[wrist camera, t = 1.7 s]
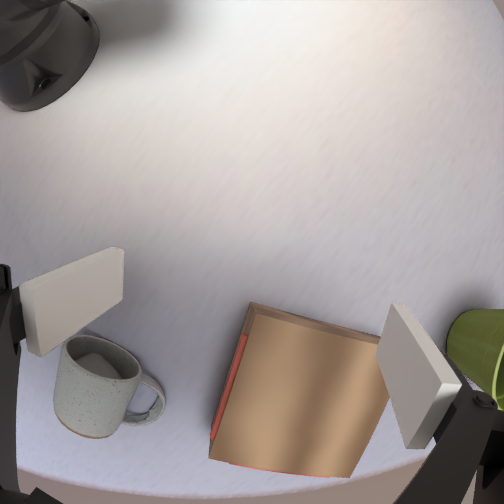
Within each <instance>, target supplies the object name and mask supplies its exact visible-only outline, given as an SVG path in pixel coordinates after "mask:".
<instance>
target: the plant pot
mask: <svg viewBox="0 0 504 504" xmlns="http://www.w3.org/2000/svg"><path fill="white" fill-rule="evenodd" d="M447 356H448V358H449V359H451V360H452V361H453V362H454V363H455V365H456V366H457V367H458V369H459V370H460V371H461V372H462V373H463V374H465V375H466V376H467V377H468V378H469V379H470V380H472V381H473V382H474V383H475V384H476V385H477V386H478V387H480V388H481V389H482V390H483V391H484V392H485V393H486V394H488V395H490V396H491V397H492V398H493V399H494V400H495V401H496V402H497V404H498V410H503V411H504V309H495V310H470V311H467V312H465V313H463V314H461V315H460V316H459V317H458V318H457V319H456V321H455V322H454V323H453V325H452V327H451V329H450V331H449V334H448V338H447Z"/></svg>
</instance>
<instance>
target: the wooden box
mask: <svg viewBox="0 0 504 504" xmlns="http://www.w3.org/2000/svg"><path fill="white" fill-rule="evenodd" d="M380 338H381V337H380V336H376V335H372V334H368V333H364V332H360V331H356V330H352V329H348V328H344V327H340V326H336V325H332V324H328V323H325V322H321V321H317V320H313V319H310V318H306V317H302V316H299V315H295V314H291V313H288V312H284V311H281V310H277V309H274V308H270V307H267V306H263V305H260V304H256V303H253V302H251V303H250V306H249V309H248V312H247V316H246V319H245V322H244V325H243V328H242V332H241V335H240V338H239V341H238V344H237V348H236V351H235V354H234V357H233V360H232V363H231V367H230V370H229V373H228V376H227V379H226V382H225V385H224V388H223V392H222V395H221V398H220V401H219V404H218V407H217V410H216V413H215V416H214V420H213V423H212V426H211V433H210V446H209V458H210V459H214V460H218V461H223V462H227V463H229V464H233V465H238V466H243V467H248V468H254V469H260V470H266V471H272V472H279V473H287V474H295V475H304V476H315V477H328V478H329V477H342V478H350V476H351V474H352V473H353V471H354V469H355V467H356V465H357V464H358V462H359V460H360V458H361V456H362V454H363V452H364V450H365V448H366V447H367V445H368V443H369V441H370V439H371V437H372V434H373V432H374V430H375V428H376V426H377V424H378V422H379V420H380V418H381V415H382V413H383V411H384V409H385V407H386V404H387V402H388V400H389V397H390V396H389V393H388V390H387V387H386V384H385V381H384V378H383V375H382V372H381V369H380V366H379V364H378V361H377V358H376V355H375V352H376V349H377V347H378V344H379V341H380Z"/></svg>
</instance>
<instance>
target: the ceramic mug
mask: <svg viewBox="0 0 504 504" xmlns="http://www.w3.org/2000/svg"><path fill="white" fill-rule="evenodd" d="M138 383H144V384H146V385H147V386H149V387H151V388H152V389H154V390H155V391H156V392H157V393H158V395H159V396H158V398H157V400H156V402H155V404H154V406H153V407H152V408H151V409H149V412H148V413H146V414H143V415H134V416H133V415H126V414H125V413H126V410H127V407H128V405H129V403H130V401H131V399H132V396H133V394H134V391H135V389H136V387H137V385H138ZM53 401H54V410H55V414H56V416H57V418H58V419H59V420H60V422H61V423H62V424H63V425H64V426H65V427H66V428H67V429H69V430H70V431H72V432H74V433H76V434H78V435H80V436H83V437H86V438H92V439H100V438H106V437H108V436H110V435H112V434H113V433H114V432H115V431H116V430H117V429H118V427H119V426H120V424H121V423H123V424H126V425H132V426H143V425H147V424H149V423H152V422H153V421H155V420H156V419H157V418H158V417H159V416H160V415H161V414H162V412H163V410H164V408H165V404H166V400H165V395H164V393H163V390H162V388H161V387H160V385H159V384H158V383H157V382H156V381H155V380H154V379H152V378H151V377H149V376H147V375H145V374H143V373H142V368H141V366H140V364H139V362H138V361H137V359H136V358H135V357H134V356H133V355H132V354H130V353H129V352H128V351H126V350H125V349H123V348H122V347H120V346H118V345H116V344H114V343H113V342H110V341H108V340H105V339H103V338H100V337H95V336H90V335H76V336H72V337H69V338H68V339H67V340H66V341H65V342H64V344H63V347H62V352H61V357H60V362H59V367H58V373H57V379H56V385H55V390H54V398H53Z"/></svg>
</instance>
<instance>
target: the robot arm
mask: <svg viewBox="0 0 504 504" xmlns="http://www.w3.org/2000/svg"><path fill="white" fill-rule="evenodd" d="M98 44H99V31H98V28H97V26H96V24H95V22H94V20H93V18H92V17H91V15H90V14H89V13H88V12H87V11H86V10H84V9H83V8H81V7H80V6H78V5H76V4H75V3H73V2H72V1H70V0H0V100H1V101H2V102H3V103H5V104H6V105H8V106H9V107H10V108H12V109H14V110H17V111H31V110H35V109H38V108H41V107H43V106H45V105H47V104H49V103H51V102H52V101H54V100H56V99H57V98H59V97H60V96H61V95H63V94H64V93H65V92H66V91H67V90H69V89H70V88H71V87H72V86H73V85H74V84H75V83H76V82H77V81H78V80H79V78H80V77H81V76H82V75H83V74H84V72H85V71H86V70H87V68H88V67H89V65H90V63H91V62H92V60H93V58H94V56H95V53H96V51H97V48H98ZM124 251H125V249H121V248H117V247H110V248H107V249H105V250H102V251H99V252H97V253H94V254H92V255H89V256H87V257H84V258H82V259H79V260H77V261H74V262H72V263H69V264H67V265H64V266H62V267H59V268H57V269H55V270H52V271H50V272H47V273H45V274H43V275H40V276H38V277H36V278H33V279H31V280H28V281H26V282H24V283H22V284H19V287H17V288H14V289H12V282H11V270H10V267H9V266H8V265H4V264H0V504H63V503H61V502H59V501H58V500H56V499H54V498H53V497H51V496H50V495H48V494H46V493H45V492H43V491H42V490H40V489H39V488H37V487H36V488H35V489H34V491H33V492H32V493H31V494H30V495H28V494H24V493H21V492H20V489H19V486H18V478H17V462H16V403H17V387H18V375H19V365H20V356H21V346H20V341H21V340H22V339H24V338H26V341H27V347H28V351H29V352H31V353H33V354H35V355H37V356H39V357H41V358H42V357H43V356H44V355H46V354H47V353H49V352H50V351H51V350H53V349H54V348H55V347H57V346H58V345H60V344H61V343H62V342H64V341H65V340H67V339H68V338H69V337H71V336H72V335H73V334H75V333H76V332H78V331H79V330H80V329H82V328H83V327H85V326H86V325H88V324H89V323H90V322H92V321H93V320H95V319H96V318H97V317H99V316H100V315H102V314H103V313H105V312H106V311H107V310H109V309H110V308H112V307H113V306H115V305H116V304H117V303H119V302H120V301H122V300H123V273H124ZM375 355H376V358H377V361H378V364H379V366H380V369H381V372H382V375H383V378H384V381H385V384H386V387H387V390H388V393H389V396H390V399H391V402H392V405H393V408H394V411H395V415H396V418H397V421H398V424H399V427H400V431H401V434H402V437H403V441H404V444H405V448H406V449H425V448H426V446H427V445H428V443H429V442H430V440H431V439H432V437H434V439H435V442H436V445H435V447H434V448H433V450H432V451H431V453H430V454H429V456H428V457H427V459H426V460H425V462H424V463H423V464H422V466H421V468H420V469H419V470H418V472H417V473H416V474H415V476H414V477H413V479H412V480H411V481H410V483H409V484H408V485H407V487H406V488H405V489H404V490H403V492H402V493H401V494H400V495H399V497H398V498H397V499H396V501H395V502H394V503H393V504H461V502H462V500H463V498H464V496H465V494H466V492H467V490H468V488H469V486H470V483H471V481H472V479H473V476H474V474H475V472H476V470H477V474H476V483H475V491H474V499H473V504H504V411H503V410H498V404H497V402H496V401H495V400H494V399H493V398H492V397H491V396H490V395H488V394H486V393H484V392H481V391H477V390H473V389H472V388H471V386H470V385H469V383H468V382H467V380H466V379H465V378H464V376H462V373H461V372H460V370H458V367H457V366H456V365H455V363H454V362H453V361H452V360H451V359H449V358H448V357H447V356H446V355H442V354H441V352H440V351H439V349H438V348H437V347H436V345H435V344H434V342H433V341H432V339H431V338H430V337H429V335H428V334H427V332H426V331H425V330H424V328H423V327H422V326H421V324H420V323H419V321H418V320H417V319H416V317H415V316H414V315H413V313H412V312H411V311H410V309H409V308H408V307H407V305H403V304H398V303H392V304H391V307H390V310H389V313H388V317H387V320H386V323H385V326H384V329H383V332H382V335H381V338H380V341H379V344H378V347H377V349H376V352H375Z"/></svg>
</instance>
